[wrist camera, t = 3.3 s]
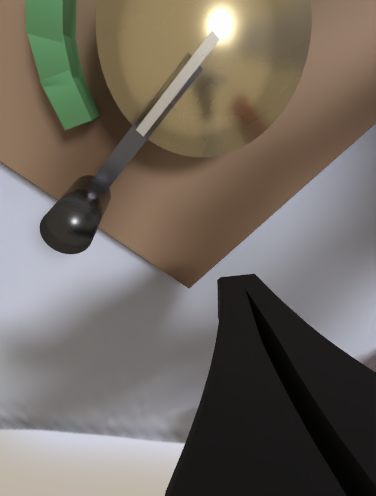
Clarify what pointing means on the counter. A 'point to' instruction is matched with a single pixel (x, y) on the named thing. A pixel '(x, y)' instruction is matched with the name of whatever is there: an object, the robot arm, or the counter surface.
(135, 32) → the dial
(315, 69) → the dial board
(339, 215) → the counter surface
